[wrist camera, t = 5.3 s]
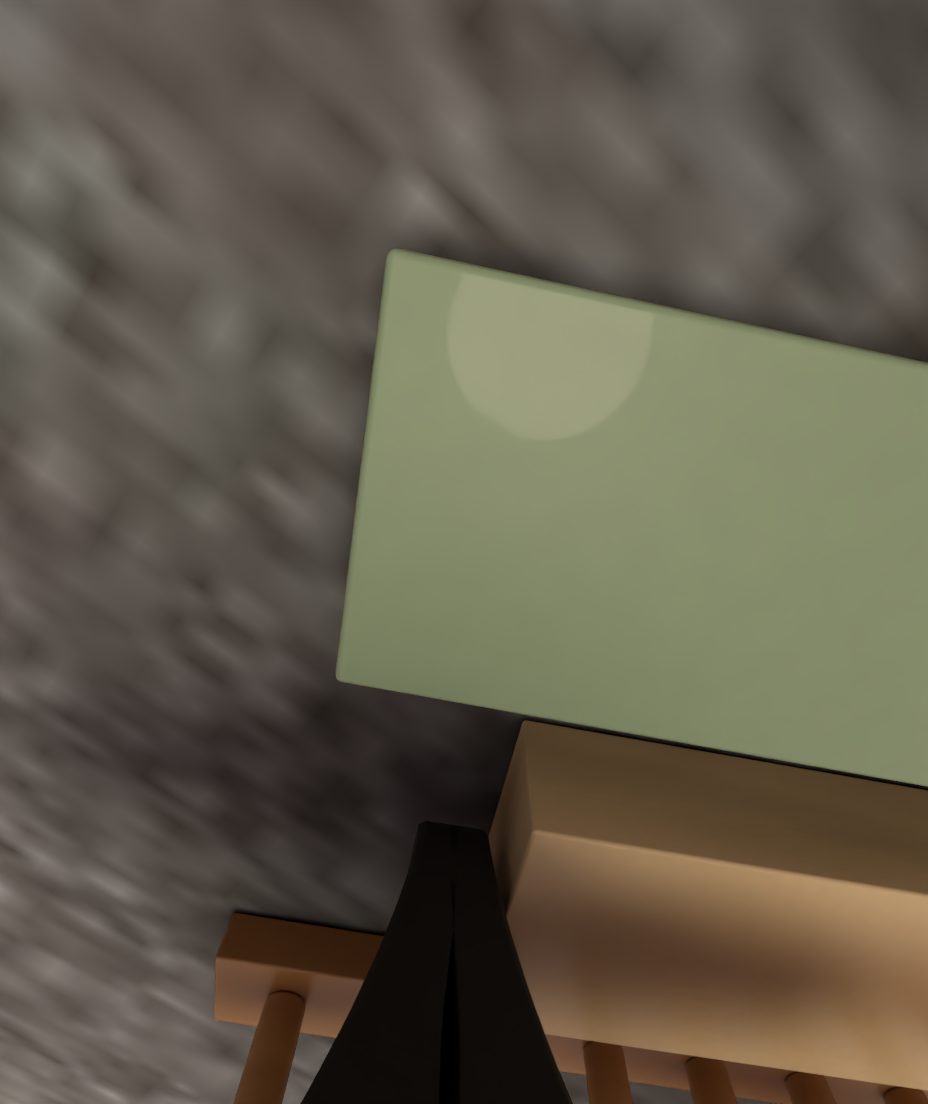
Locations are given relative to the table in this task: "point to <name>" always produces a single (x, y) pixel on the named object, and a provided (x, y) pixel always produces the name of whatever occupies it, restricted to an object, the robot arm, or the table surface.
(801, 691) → the sage board
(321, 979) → the plate rack
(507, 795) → the beech board
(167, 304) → the table surface
